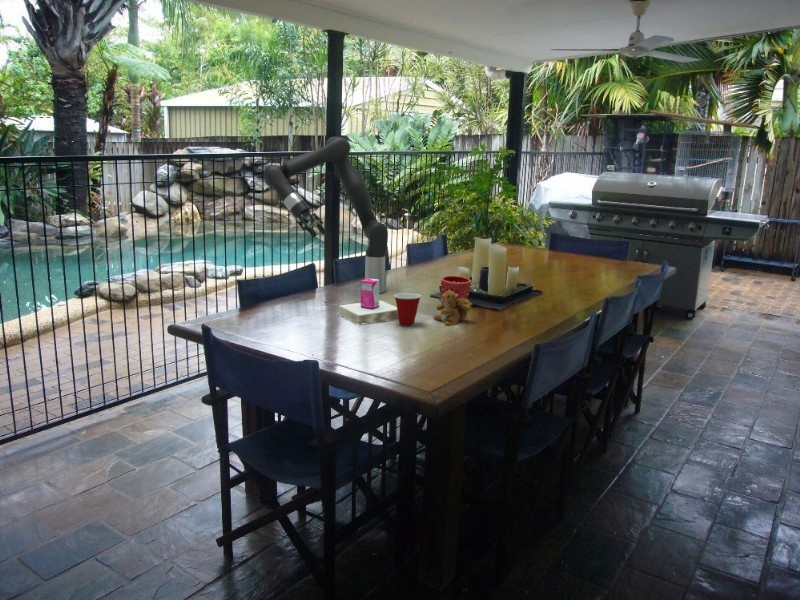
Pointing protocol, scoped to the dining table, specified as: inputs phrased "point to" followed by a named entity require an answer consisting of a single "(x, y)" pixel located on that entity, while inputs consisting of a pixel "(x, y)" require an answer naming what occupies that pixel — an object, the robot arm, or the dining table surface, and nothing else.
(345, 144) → the robot arm
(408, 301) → the plastic cup
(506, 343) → the dining table surface
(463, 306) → the stuffed squirrel
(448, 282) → the plant pot
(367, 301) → the supplement box
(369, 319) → the slab
